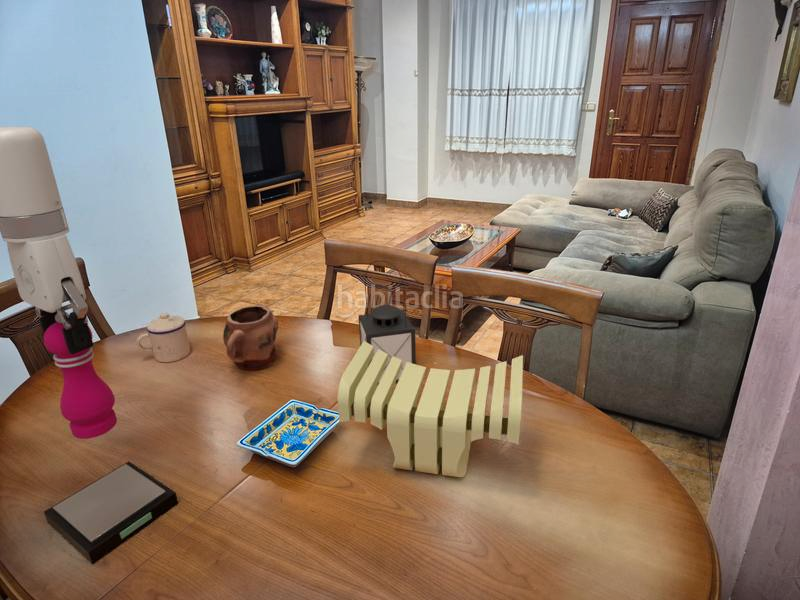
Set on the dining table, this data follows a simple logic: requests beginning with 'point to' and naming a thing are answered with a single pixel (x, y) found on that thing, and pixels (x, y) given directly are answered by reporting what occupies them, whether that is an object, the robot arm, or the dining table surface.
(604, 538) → the dining table surface
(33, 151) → the robot arm
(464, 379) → the slatted curved stool
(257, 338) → the decorative planter
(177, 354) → the teacup with lid
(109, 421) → the pepper mill
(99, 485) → the kitchen scale
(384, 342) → the lantern
